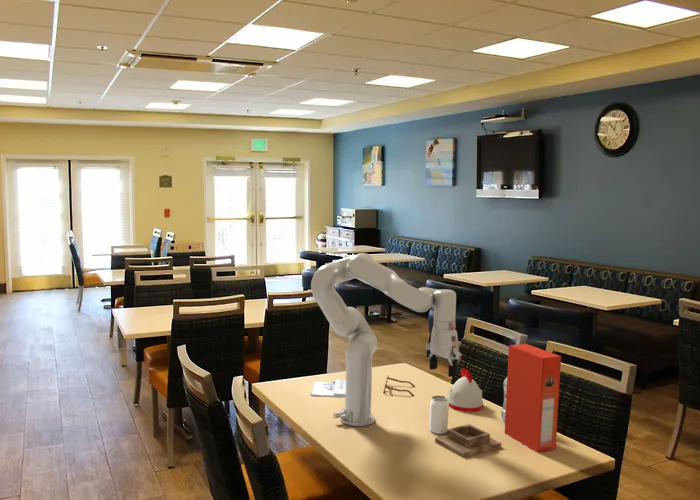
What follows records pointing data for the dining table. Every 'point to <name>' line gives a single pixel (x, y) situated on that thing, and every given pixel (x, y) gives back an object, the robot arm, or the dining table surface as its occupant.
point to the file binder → (532, 396)
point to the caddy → (467, 441)
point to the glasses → (398, 389)
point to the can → (439, 415)
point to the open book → (329, 389)
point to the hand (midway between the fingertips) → (442, 372)
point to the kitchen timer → (465, 394)
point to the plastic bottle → (504, 400)
